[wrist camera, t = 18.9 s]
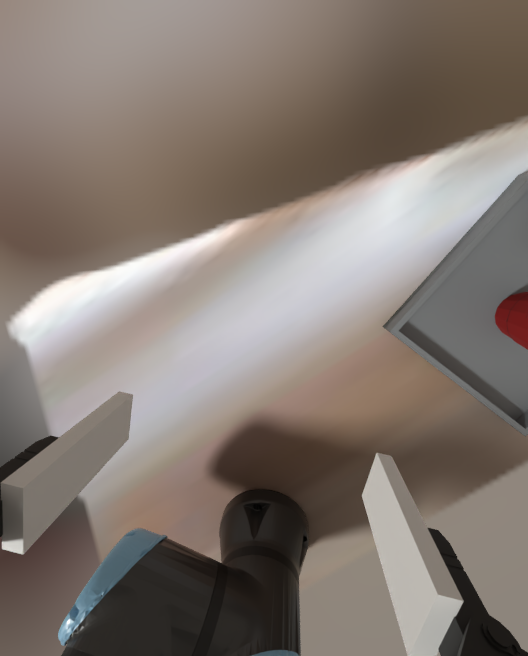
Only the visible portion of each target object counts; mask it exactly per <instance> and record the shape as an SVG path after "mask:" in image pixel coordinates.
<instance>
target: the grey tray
mask: <svg viewBox="0 0 528 656" xmlns="http://www.w3.org/2000/svg"><path fill="white" fill-rule="evenodd" d="M522 292H528V172H526V173H523V174H521V175H518V176H517V177H516V179H515V180H514V181H513V182H512V183H511V184H510V185H509V186H508V187H507V189H506V190H505V191H504V192H503V193H502V194H501V195H500V196H499V198H498V199H497V200H496V201H495V202H494V203H493V204H492V205H491V206H490V208H489V209H488V210H487V211H486V212H485V213H484V214H483V215H482V217H481V218H480V219H479V220H478V221H477V222H476V223H475V224H474V225H473V227H472V228H471V229H470V230H469V231H468V232H467V233H466V234H465V236H464V237H463V238H462V239H461V240H460V241H459V242H458V243H457V244H456V246H455V247H454V248H453V249H452V250H451V251H450V252H449V253H448V255H447V256H446V257H445V258H444V259H443V260H442V261H441V262H440V263H439V265H438V266H437V267H436V268H435V269H434V270H433V271H432V272H431V273H430V275H429V276H428V277H427V278H426V279H425V280H424V281H423V282H422V284H421V285H420V286H419V287H418V288H417V289H416V290H415V291H414V292H413V294H412V295H411V296H410V297H409V298H408V299H407V300H406V301H405V303H404V304H403V305H402V306H401V307H400V308H399V309H398V310H397V311H396V313H395V314H394V315H393V316H392V317H391V318H390V319H389V320H388V322H387V323H386V324H385V325H384V326H383V327H384V328H385V329H386V330H388V331H389V332H390V333H392V334H393V335H394V336H396V337H397V338H398V339H399V340H401V341H402V342H403V343H405V344H406V345H407V346H409V347H410V348H411V349H412V350H414V351H415V352H416V353H418V354H419V355H420V356H422V357H423V358H424V359H425V360H427V361H428V362H429V363H431V364H432V365H433V366H434V367H436V368H437V369H438V370H440V371H441V372H442V373H444V374H445V375H446V376H447V377H449V378H450V379H451V380H453V381H454V382H455V383H457V384H458V385H459V386H460V387H462V388H463V389H464V390H466V391H467V392H468V393H470V394H471V395H472V396H473V397H475V398H476V399H477V400H479V401H480V402H481V403H483V404H484V405H485V406H486V407H488V408H489V409H490V410H492V411H493V412H494V413H496V414H497V415H498V416H499V417H501V418H502V419H503V420H505V421H506V422H507V423H508V424H510V425H511V426H512V427H514V428H515V429H516V430H518V431H519V432H520V433H521V434H523V435H524V436H526V435H527V434H528V350H527V349H526V348H524V347H522V346H521V345H519V344H518V343H516V342H515V341H513V339H511V338H510V337H508V336H507V335H505V334H504V333H502V332H501V331H500V329H499V328H498V327H497V325H496V323H495V313H496V310H497V307H498V306H499V305H500V303H501V302H502V301H503V300H504V299H506V298H507V297H509V296H511V295H514V294H518V293H522Z"/></svg>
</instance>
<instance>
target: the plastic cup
mask: <svg viewBox="0 0 528 656" xmlns="http://www.w3.org/2000/svg"><path fill="white" fill-rule="evenodd" d="M495 323H496V325H497V327H498V328H499V329H500V331H501V332H502V333H504V334H505V335H507V336H508V337H510V338H511V339H513V341H515V342H516V343H518V344H519V345H521V346H522V347H524V348H526V349H527V350H528V292H522V293H518V294H514V295H511V296H509V297H507V298H506V299H504V300H503V301H502V302H501V303H500V305H499V306H498V307H497V310H496V313H495Z"/></svg>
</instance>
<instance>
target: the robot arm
mask: <svg viewBox="0 0 528 656" xmlns="http://www.w3.org/2000/svg"><path fill="white" fill-rule="evenodd" d="M132 399H133V395H132V394H128V393H123V392H118V393H117V394H115V395H114V396H113V397H111V398H110V399H109V400H108V401H106V402H105V403H104V404H102V405H101V406H100V407H98V408H97V409H96V410H95V411H93V412H92V413H91V414H89V415H88V416H87V417H85V418H84V419H83V420H82V421H80V422H79V423H78V424H76V425H75V426H74V427H72V428H71V429H70V430H68V431H67V432H66V433H65V434H63V435H62V436H61V437H59V438H58V437H54V436H49V437H46V438H44V439H42V440H39V441H37V442H35V443H34V444H32V445H31V446H30V447H28V448H27V449H25V451H24V452H21V453H20V454H18V455H17V456H16V457H15V458H14V459H11V460H10V461H9V462H7V463H6V464H4V465H3V466H2V467H0V537H1V536H2V549H4V550H8V551H12V552H15V553H20V554H24V553H25V552H26V551H27V550H28V549H29V548H30V547H31V545H32V544H33V543H34V542H35V541H36V540H37V539H38V538H39V537H40V536H41V534H42V533H43V532H44V531H45V530H46V529H47V528H48V527H49V526H50V525H51V524H52V522H53V521H54V520H55V519H56V518H57V517H58V516H59V515H60V514H61V513H62V511H63V510H64V509H65V508H66V507H67V506H68V505H69V504H70V503H71V502H72V500H73V499H74V498H75V497H76V496H77V495H78V494H79V493H80V492H81V491H82V489H83V488H84V487H85V486H86V485H87V484H88V483H89V482H90V481H91V480H92V478H93V477H94V476H95V475H96V474H97V473H98V472H99V471H100V470H101V469H102V467H103V466H104V465H105V464H106V463H107V462H108V461H109V460H110V459H111V458H112V457H113V455H114V454H115V453H116V452H117V451H118V450H119V449H120V448H121V447H122V446H123V444H124V443H125V442H126V441H127V440H128V438H129V429H130V419H131V409H132ZM362 498H363V502H364V505H365V509H366V512H367V516H368V519H369V523H370V526H371V530H372V533H373V537H374V540H375V544H376V547H377V551H378V554H379V557H380V561H381V564H382V567H383V571H384V575H385V578H386V582H387V585H388V588H389V592H390V596H391V599H392V603H393V606H394V610H395V613H396V617H397V620H398V623H399V627H400V630H401V634H402V637H403V641H404V644H405V648H406V651H407V655H408V656H436V655H437V653H438V651H439V652H440V655H441V656H528V653H527V652H526V651H524V650H523V649H521V647H520V645H519V643H518V642H517V641H516V639H515V638H514V637H513V635H512V634H511V633H510V631H509V630H507V629H506V628H505V627H504V626H503V625H502V624H501V623H500V622H499V621H497V620H496V619H494V618H493V617H491V616H490V615H489V614H488V612H487V610H486V609H485V607H484V605H483V603H482V601H481V600H480V598H479V596H478V594H477V592H476V590H475V589H474V587H473V585H472V583H471V581H470V579H469V578H468V576H467V574H466V572H465V571H464V570H463V567H462V565H461V563H460V561H459V560H458V559H457V556H456V554H455V553H454V551H453V548H452V547H451V545H450V543H449V542H448V541H447V540H446V539H445V537H444V536H443V535H442V534H441V533H440V532H439V531H438V530H435V529H431V528H427V526H426V524H425V522H424V520H423V518H422V516H421V514H420V512H419V510H418V508H417V506H416V504H415V502H414V500H413V498H412V496H411V494H410V492H409V490H408V488H407V486H406V484H405V482H404V480H403V478H402V476H401V474H400V472H399V470H398V468H397V466H396V464H395V462H394V460H393V458H392V456H390V455H385V454H381V453H376V456H375V459H374V462H373V465H372V468H371V471H370V474H369V476H368V479H367V482H366V485H365V488H364V491H363V494H362ZM219 534H220V547H221V561H222V563H220V562H218V561H216V560H213V559H211V558H209V557H207V556H205V555H203V554H200V553H198V552H196V551H194V550H192V549H189V548H187V547H185V546H183V545H181V544H179V543H176V542H174V541H172V540H170V539H168V538H167V536H166V535H162V536H161V535H159V534H156V533H153V532H151V531H148V530H145V529H142V528H138V529H134V530H132V531H130V532H128V533H127V534H126V535H125V536H124V537H123V538H122V539H121V540H120V541H119V542H118V543H117V544H116V545H115V547H114V548H113V549H112V550H111V552H110V553H109V554H108V555H107V557H106V558H105V559H104V561H103V562H102V563H101V565H100V566H99V567H98V569H97V570H96V572H95V573H94V575H93V576H92V577H91V579H90V580H89V582H88V583H87V585H86V586H85V588H84V589H83V591H82V592H81V594H80V595H79V597H78V599H77V600H76V603H75V604H74V606H73V607H72V609H71V611H70V612H69V613H68V615H67V616H66V618H65V620H64V622H63V623H62V625H61V628H60V630H59V633H58V638H59V640H60V641H61V645H64V646H65V645H66V644H67V646H66V648H65V650H64V652H63V654H62V655H61V656H301V647H300V608H299V607H300V605H299V575H300V572H301V568H302V565H303V562H304V559H305V555H306V552H307V549H308V543H309V532H308V522H307V519H306V516H305V514H304V512H303V511H302V509H301V508H300V507H299V506H298V505H297V504H296V503H295V502H294V501H293V500H291V499H290V498H288V497H287V496H285V495H283V494H280V493H278V492H274V491H270V490H252V491H248V492H245V493H242V494H240V495H238V496H237V497H235V498H234V499H233V500H231V501H230V502H229V504H228V505H227V506H226V508H225V510H224V513H223V516H222V520H221V524H220V531H219Z"/></svg>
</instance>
